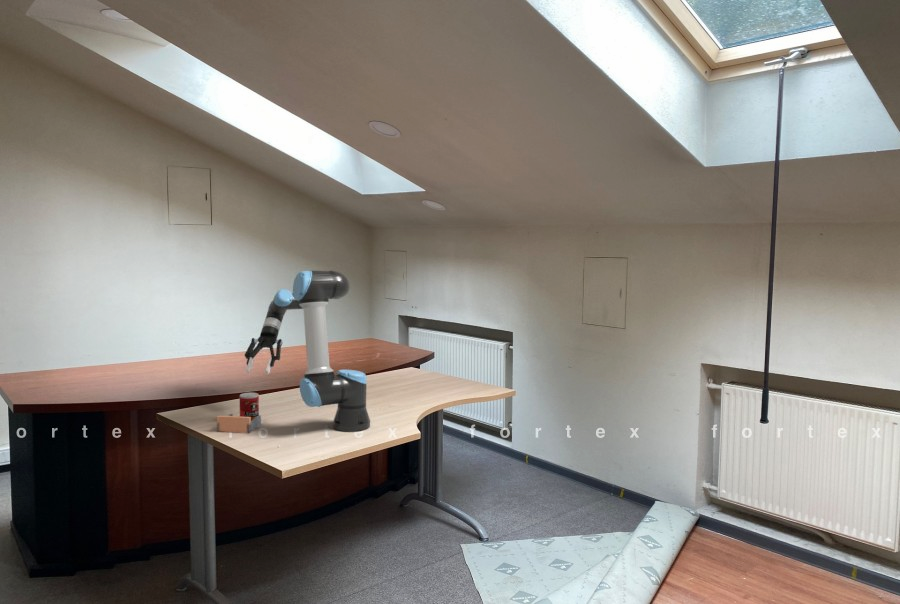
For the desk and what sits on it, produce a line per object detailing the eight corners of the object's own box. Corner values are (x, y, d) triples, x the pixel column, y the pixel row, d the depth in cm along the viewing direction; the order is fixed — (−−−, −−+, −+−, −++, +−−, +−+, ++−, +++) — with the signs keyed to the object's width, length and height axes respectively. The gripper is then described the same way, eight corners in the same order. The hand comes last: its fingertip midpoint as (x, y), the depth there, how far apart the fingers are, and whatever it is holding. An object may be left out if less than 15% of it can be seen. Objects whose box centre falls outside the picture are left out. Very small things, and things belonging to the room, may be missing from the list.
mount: (261, 423, 255) (260, 409, 254) (249, 432, 242) (249, 418, 242) (230, 422, 255) (230, 408, 255) (217, 431, 243) (216, 416, 242)
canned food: (245, 424, 254) (245, 398, 252) (236, 420, 259) (236, 394, 258) (262, 420, 259) (262, 395, 258) (253, 416, 265) (252, 391, 263)
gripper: (294, 335, 283) (283, 377, 269) (250, 333, 285) (236, 375, 270) (291, 325, 278) (279, 368, 263) (246, 324, 279) (231, 366, 264)
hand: (257, 371), depth 267 cm, fingers open, 8 cm apart
